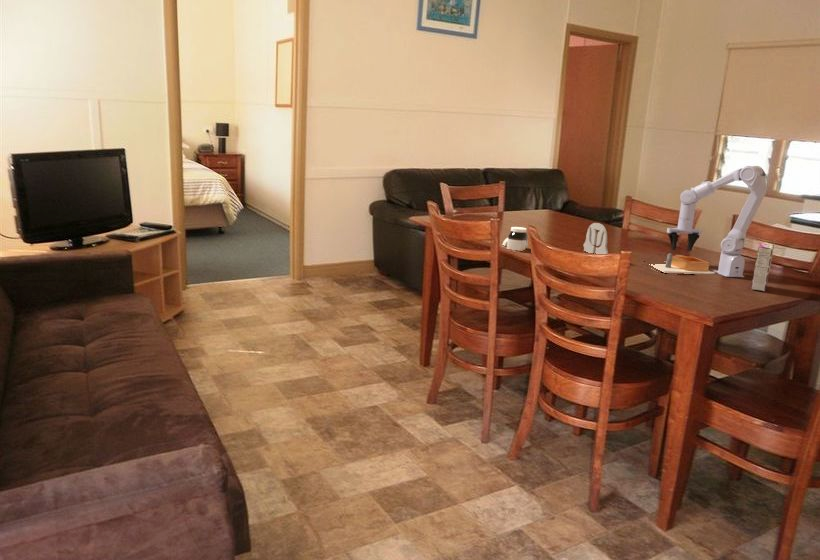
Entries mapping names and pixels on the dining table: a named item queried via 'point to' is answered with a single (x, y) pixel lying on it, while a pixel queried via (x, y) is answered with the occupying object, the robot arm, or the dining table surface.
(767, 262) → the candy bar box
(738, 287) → the dining table surface
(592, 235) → the ornament
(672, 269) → the board
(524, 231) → the spread jar
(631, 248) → the dining table surface
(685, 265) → the wooden link
